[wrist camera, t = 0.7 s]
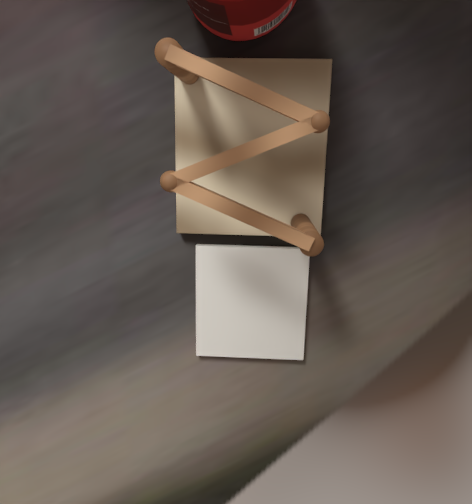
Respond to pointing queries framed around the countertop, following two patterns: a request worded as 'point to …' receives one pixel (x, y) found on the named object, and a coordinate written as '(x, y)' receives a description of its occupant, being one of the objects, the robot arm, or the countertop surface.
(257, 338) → the coaster
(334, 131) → the countertop surface
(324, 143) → the wooden zigzag stand
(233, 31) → the canned food
